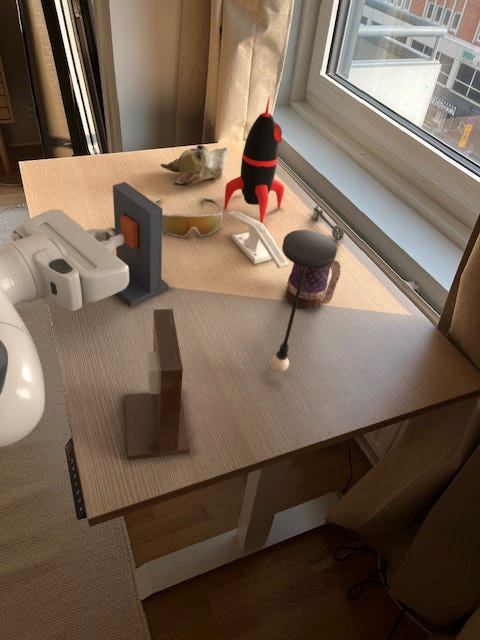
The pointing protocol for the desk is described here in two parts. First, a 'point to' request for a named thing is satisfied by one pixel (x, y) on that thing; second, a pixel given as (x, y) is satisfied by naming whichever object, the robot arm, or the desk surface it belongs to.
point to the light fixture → (303, 273)
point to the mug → (313, 285)
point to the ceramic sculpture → (198, 165)
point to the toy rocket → (259, 165)
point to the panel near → (159, 399)
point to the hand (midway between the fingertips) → (118, 234)
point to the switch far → (129, 231)
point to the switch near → (152, 372)
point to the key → (334, 232)
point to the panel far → (140, 244)
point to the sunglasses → (191, 222)
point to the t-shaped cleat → (257, 241)
